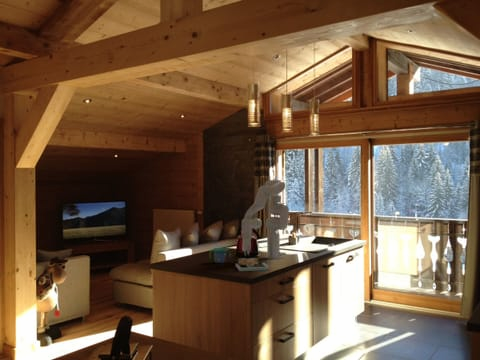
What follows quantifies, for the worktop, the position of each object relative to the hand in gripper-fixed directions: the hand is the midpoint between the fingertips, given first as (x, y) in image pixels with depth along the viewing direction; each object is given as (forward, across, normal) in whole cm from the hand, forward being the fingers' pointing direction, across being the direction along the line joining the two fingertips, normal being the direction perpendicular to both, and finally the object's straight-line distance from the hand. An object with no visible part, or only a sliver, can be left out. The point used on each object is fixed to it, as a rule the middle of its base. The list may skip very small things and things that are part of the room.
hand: (246, 261), depth 337 cm
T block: (+1, +9, 0) cm, 9 cm away
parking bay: (+2, +18, 0) cm, 19 cm away
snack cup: (+2, -6, -19) cm, 20 cm away
